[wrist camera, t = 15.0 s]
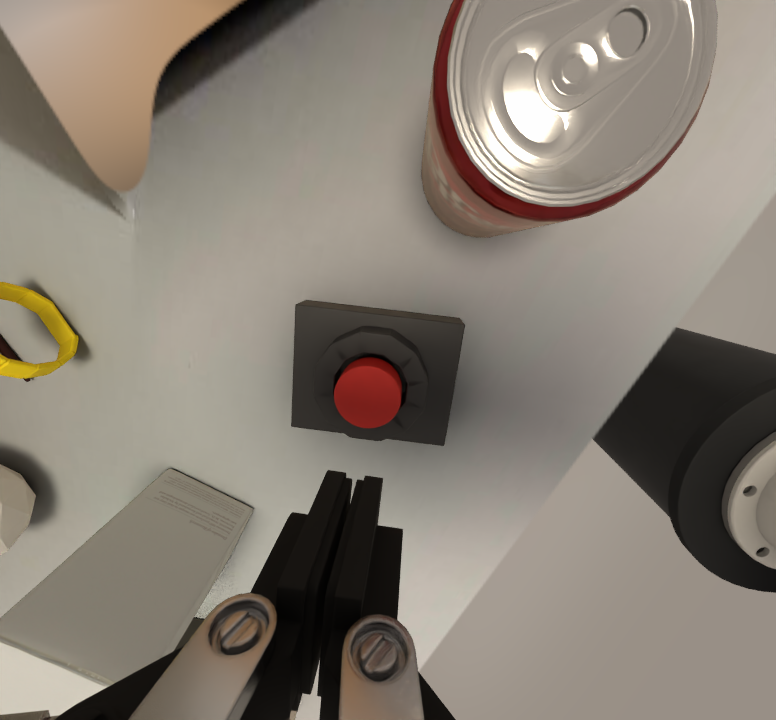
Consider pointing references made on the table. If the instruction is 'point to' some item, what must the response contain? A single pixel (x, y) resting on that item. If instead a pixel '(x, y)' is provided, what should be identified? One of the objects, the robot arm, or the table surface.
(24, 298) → the watch
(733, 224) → the table surface
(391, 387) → the power button
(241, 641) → the robot arm
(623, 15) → the soda can
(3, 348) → the pen
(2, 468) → the ball
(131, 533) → the white packaging box
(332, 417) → the black button base
